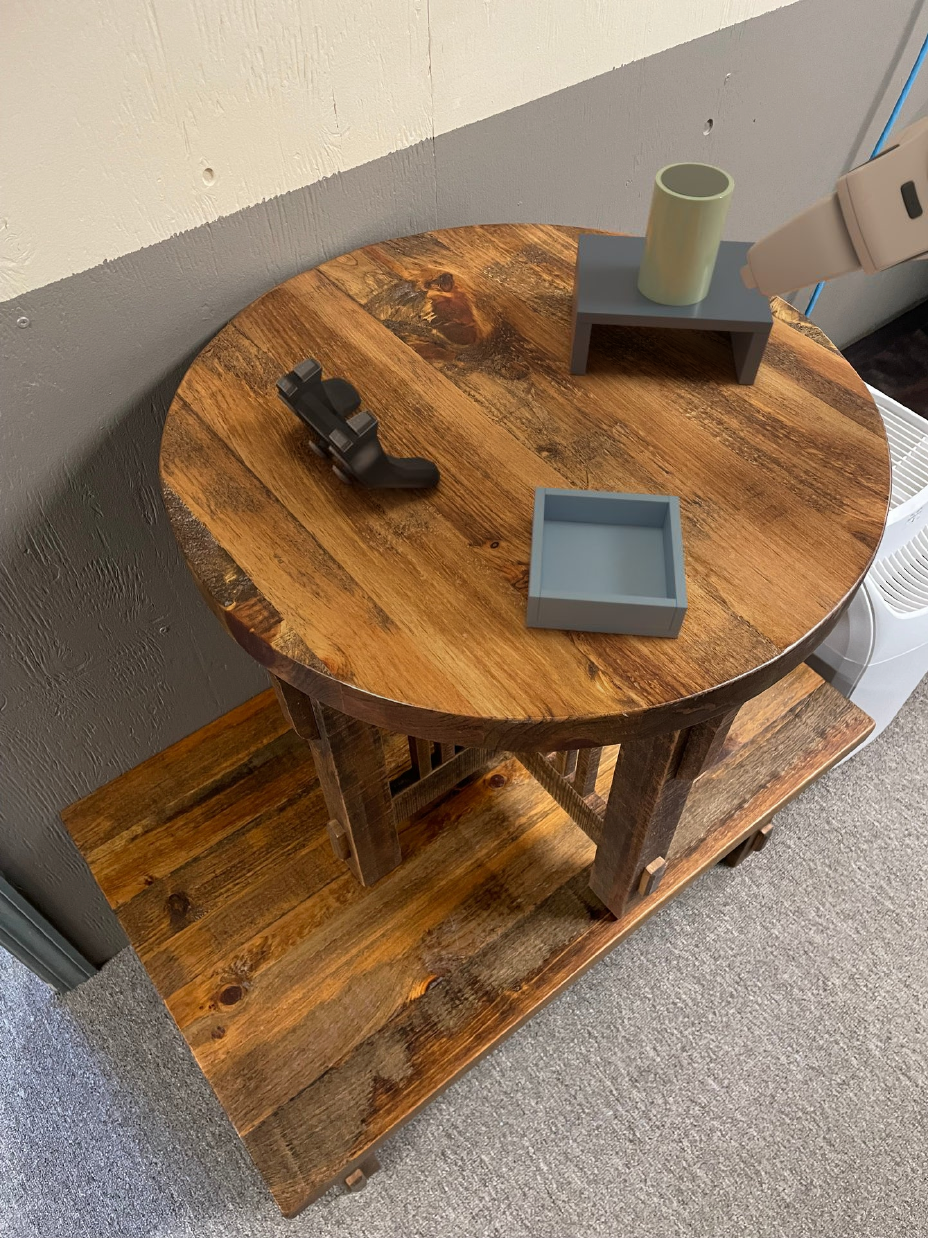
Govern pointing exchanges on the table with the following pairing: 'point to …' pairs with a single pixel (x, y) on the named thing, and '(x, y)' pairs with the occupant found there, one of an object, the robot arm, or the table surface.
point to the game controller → (349, 431)
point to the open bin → (606, 563)
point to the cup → (684, 232)
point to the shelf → (616, 300)
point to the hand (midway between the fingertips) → (787, 258)
